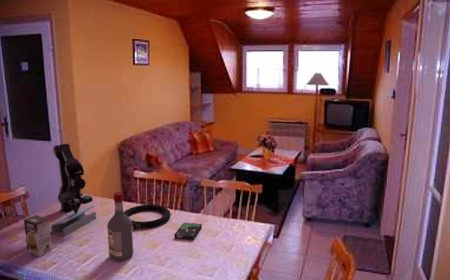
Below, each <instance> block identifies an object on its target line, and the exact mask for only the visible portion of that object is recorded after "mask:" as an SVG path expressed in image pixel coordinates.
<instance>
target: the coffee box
mask: <svg viewBox="0 0 450 280" xmlns="http://www.w3.org/2000/svg"><path fill="white" fill-rule="evenodd" d="M23 222H24V234H25V240H26V248H27V249H26V251H27V253H30V254H33V255H35V256H37V257H43V256H44V255H45V254H48V253H50V252H52V244H51V241H52V240H51V227H50V220H49V218H47V217H44V216H40V215H37V214H35V215H33V216H30V217H27V218H25V219H23Z"/></svg>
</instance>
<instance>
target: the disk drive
mask: <svg viewBox="0 0 450 280" xmlns="http://www.w3.org/2000/svg"><path fill="white" fill-rule="evenodd" d="M202 225H203V224H202V223H196V222H195V223H194V222H192V223H191V222H186V221H185V222H183V223H182V224H181V225H180V227H179V228H178V229H177V230H176V231H175V233H173V235H174V236H173V237H174V239H178V240H185V241H186V240H187V241H195V239H196V238H197V236H198V235H199V233H200V231H201V230H202V228H203V227H202Z"/></svg>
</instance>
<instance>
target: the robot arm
mask: <svg viewBox="0 0 450 280" xmlns="http://www.w3.org/2000/svg"><path fill="white" fill-rule="evenodd" d="M52 154H54V157H55V158H56V159H57V162H58V167H59V168H58V170H59V176H60V177H59V178H60V183H61V185H60V187H59V188H58V193H57V201H58V202H59V204H60V209H59V211H58V212H62V213H70V212H72V211H73V213H75V214H76V213H77V212H78V210H80V209H81V206H82V205H87V204H89V203H92V202H93V196H91V195H84V194H83V193H82V191H81V190H82V189H84V188H85V187H86V181H85V179H83V178H82V176H84V175H85V174H84V173H85V170H84V168H83V165H82V164H81V162H80V161H79V160H78V159H77V158H75V156H74V154H73V153H72V150H71V145H70V144H69V143H61V144H58V145H54V147H52Z"/></svg>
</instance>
